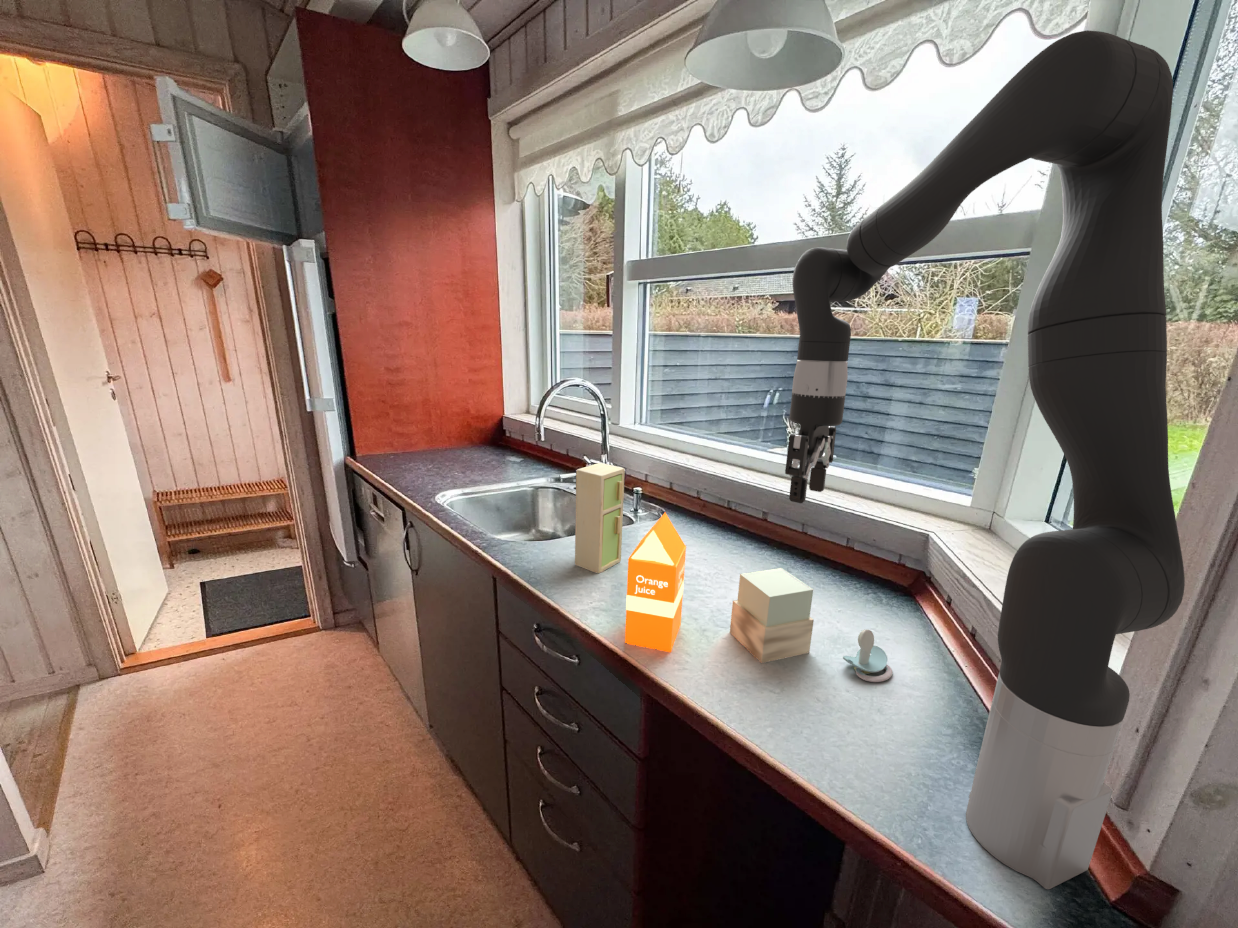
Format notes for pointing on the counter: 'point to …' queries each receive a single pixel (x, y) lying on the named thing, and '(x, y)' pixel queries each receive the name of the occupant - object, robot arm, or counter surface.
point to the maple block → (770, 635)
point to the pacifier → (869, 659)
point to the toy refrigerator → (599, 516)
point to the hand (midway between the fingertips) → (807, 496)
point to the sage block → (774, 596)
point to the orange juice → (655, 588)
